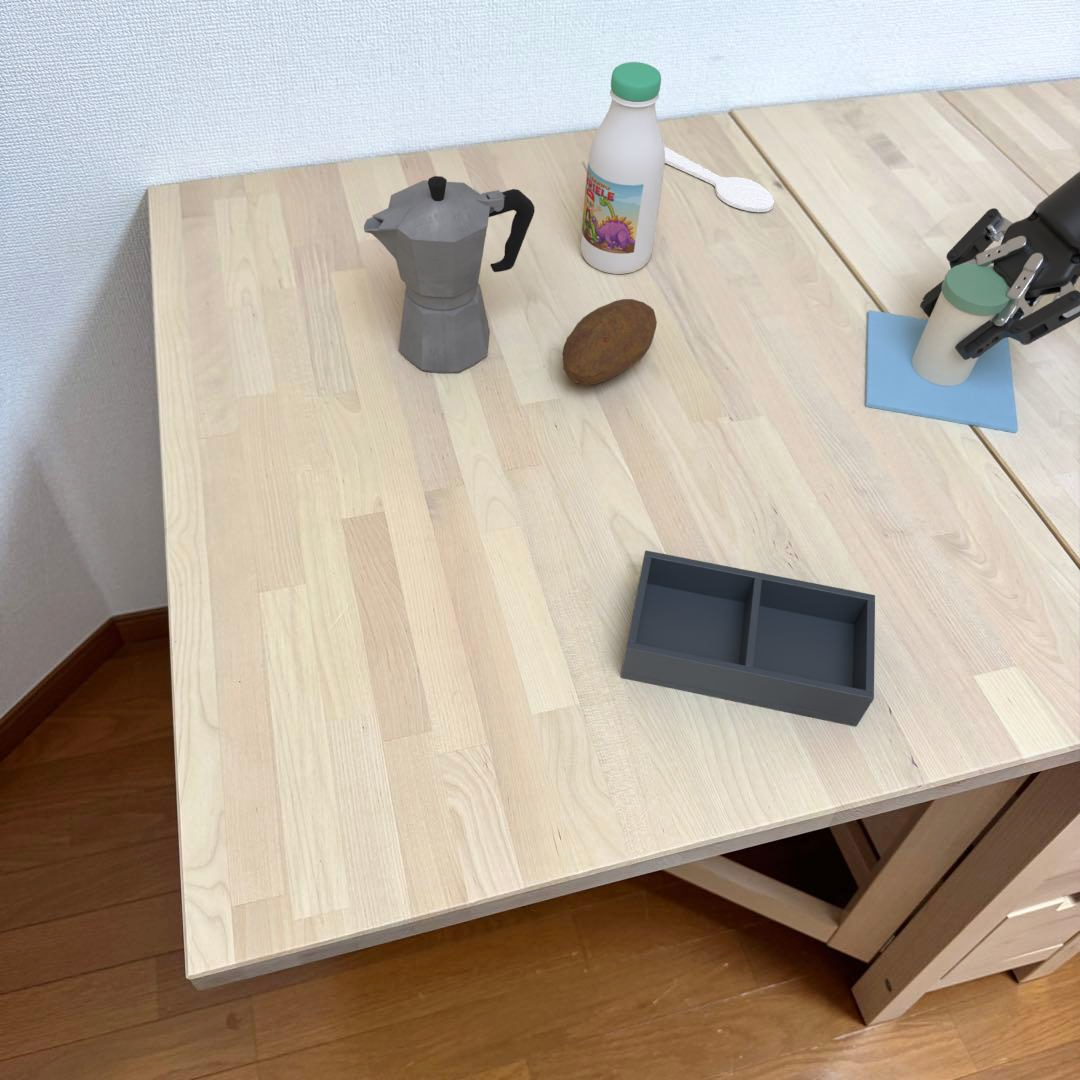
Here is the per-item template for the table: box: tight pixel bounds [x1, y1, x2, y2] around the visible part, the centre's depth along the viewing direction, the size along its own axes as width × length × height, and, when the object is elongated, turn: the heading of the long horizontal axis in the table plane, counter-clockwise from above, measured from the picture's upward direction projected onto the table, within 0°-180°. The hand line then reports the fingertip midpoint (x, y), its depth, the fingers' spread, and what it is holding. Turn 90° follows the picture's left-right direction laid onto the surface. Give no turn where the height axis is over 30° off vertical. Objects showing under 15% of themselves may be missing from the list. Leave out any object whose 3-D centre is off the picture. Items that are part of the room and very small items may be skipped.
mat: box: [865, 309, 1019, 434], centre depth 98 cm, size 14×14×1 cm
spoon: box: [664, 145, 775, 213], centre depth 117 cm, size 5×18×1 cm, turn 48°
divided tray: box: [620, 550, 876, 727], centre depth 76 cm, size 9×18×4 cm, turn 78°
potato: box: [561, 298, 658, 386], centre depth 94 cm, size 7×12×7 cm, turn 143°
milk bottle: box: [580, 61, 666, 275], centre depth 100 cm, size 8×8×20 cm
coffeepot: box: [363, 175, 536, 374], centre depth 91 cm, size 15×9×18 cm, turn 110°
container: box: [912, 264, 1011, 386], centre depth 94 cm, size 6×6×10 cm
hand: (942, 332), depth 94 cm, fingers closed on container, 5 cm apart
